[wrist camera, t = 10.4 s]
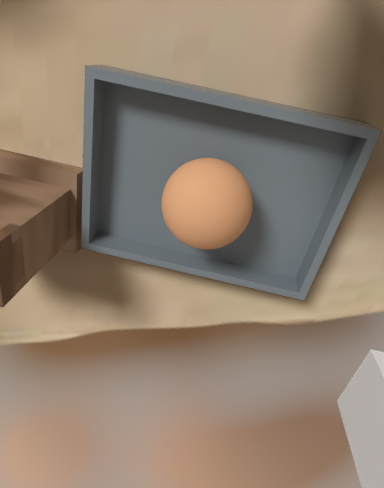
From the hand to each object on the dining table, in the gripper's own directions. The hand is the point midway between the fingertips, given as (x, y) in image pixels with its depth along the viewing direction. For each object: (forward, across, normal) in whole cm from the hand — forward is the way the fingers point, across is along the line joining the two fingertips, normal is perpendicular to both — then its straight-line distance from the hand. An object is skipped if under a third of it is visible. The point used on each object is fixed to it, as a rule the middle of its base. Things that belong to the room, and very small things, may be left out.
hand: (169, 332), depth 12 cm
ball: (+15, 0, 0) cm, 15 cm away
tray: (+16, 0, 0) cm, 16 cm away
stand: (+16, -14, -5) cm, 22 cm away
